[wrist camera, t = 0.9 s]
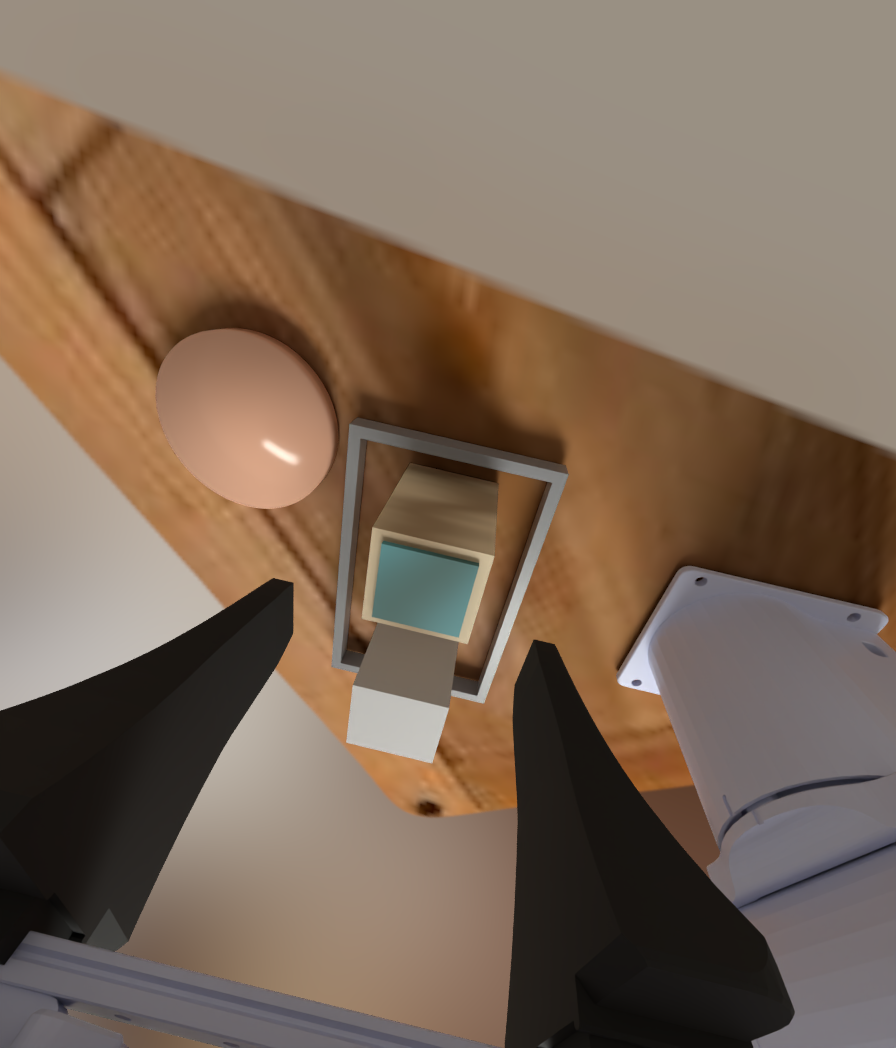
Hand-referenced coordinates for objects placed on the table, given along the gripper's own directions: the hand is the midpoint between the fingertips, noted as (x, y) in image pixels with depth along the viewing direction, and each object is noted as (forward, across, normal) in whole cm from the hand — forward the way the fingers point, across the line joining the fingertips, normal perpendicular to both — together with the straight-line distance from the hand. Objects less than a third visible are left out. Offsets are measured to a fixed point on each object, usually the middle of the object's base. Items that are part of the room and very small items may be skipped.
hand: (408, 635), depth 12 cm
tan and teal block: (+8, 0, 0) cm, 8 cm away
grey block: (+8, 0, +8) cm, 11 cm away
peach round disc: (+8, +9, -2) cm, 12 cm away
